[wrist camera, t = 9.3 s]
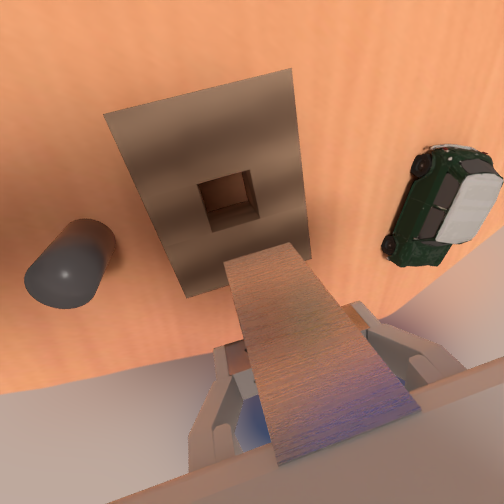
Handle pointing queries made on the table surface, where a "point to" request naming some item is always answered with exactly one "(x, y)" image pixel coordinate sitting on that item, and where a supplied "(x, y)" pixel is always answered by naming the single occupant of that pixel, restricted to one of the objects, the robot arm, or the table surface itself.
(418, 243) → the miniature car
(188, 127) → the bore block
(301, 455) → the square bit
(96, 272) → the round bit
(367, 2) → the table surface
